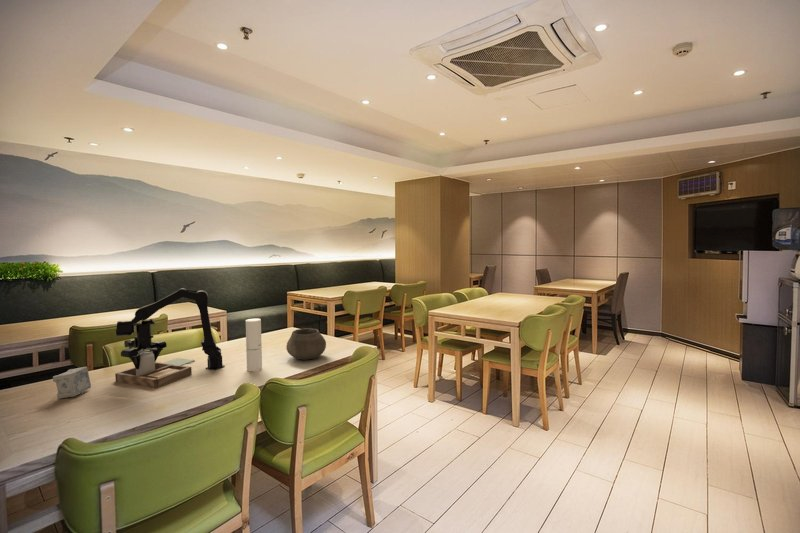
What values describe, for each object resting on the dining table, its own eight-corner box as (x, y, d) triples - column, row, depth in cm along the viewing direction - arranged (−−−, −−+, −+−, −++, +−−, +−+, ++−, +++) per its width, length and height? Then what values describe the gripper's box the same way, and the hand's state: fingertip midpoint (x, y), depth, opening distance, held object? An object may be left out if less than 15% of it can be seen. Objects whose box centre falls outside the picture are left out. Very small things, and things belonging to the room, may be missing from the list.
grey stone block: (71, 390, 165) (70, 366, 165) (92, 389, 166) (90, 366, 166) (53, 399, 156) (51, 374, 155) (75, 399, 156) (73, 374, 156)
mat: (194, 361, 205) (194, 360, 205) (174, 368, 194) (174, 367, 194) (177, 359, 209) (177, 357, 209) (157, 365, 198) (157, 364, 198)
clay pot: (332, 359, 209) (332, 332, 208) (294, 366, 197) (293, 337, 196) (317, 350, 227) (316, 325, 226) (281, 356, 215) (280, 329, 214)
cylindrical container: (265, 367, 195) (264, 319, 193) (255, 372, 188) (254, 321, 187) (253, 366, 197) (252, 318, 196) (243, 370, 191) (242, 320, 189)
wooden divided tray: (191, 375, 184) (191, 366, 184) (156, 388, 167) (155, 379, 167) (153, 369, 192) (153, 361, 192) (115, 382, 175) (115, 373, 175)
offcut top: (179, 373, 181) (179, 370, 181) (158, 380, 171) (158, 377, 171) (168, 371, 184) (168, 368, 183) (147, 378, 174) (147, 375, 174)
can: (145, 380, 177) (144, 354, 176) (132, 379, 179) (131, 353, 178) (159, 374, 184) (158, 350, 184) (145, 373, 186) (144, 349, 185)
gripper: (150, 328, 192) (151, 359, 193) (111, 337, 174) (113, 371, 175) (166, 330, 188) (168, 361, 189) (128, 339, 170) (130, 373, 171)
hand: (145, 366), depth 181 cm, fingers closed on can, 7 cm apart
